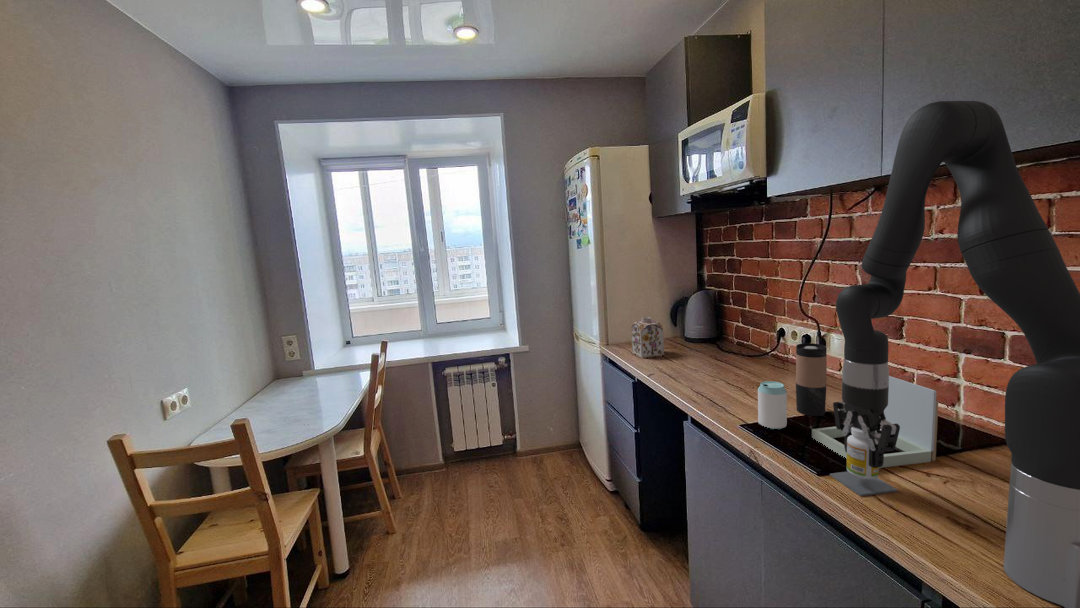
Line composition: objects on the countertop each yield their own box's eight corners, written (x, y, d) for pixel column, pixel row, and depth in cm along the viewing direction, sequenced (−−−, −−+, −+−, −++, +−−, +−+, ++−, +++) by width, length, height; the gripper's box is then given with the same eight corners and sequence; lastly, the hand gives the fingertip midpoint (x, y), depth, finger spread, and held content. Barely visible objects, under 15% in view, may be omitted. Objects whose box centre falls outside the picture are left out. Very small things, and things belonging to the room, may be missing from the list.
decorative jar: (631, 353, 208) (630, 317, 205) (653, 350, 210) (652, 314, 207) (641, 358, 196) (640, 320, 194) (665, 355, 198) (663, 318, 196)
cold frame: (936, 461, 94) (939, 390, 92) (864, 469, 93) (865, 398, 91) (874, 431, 110) (876, 370, 108) (811, 438, 109) (812, 376, 107)
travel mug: (828, 409, 125) (828, 344, 123) (823, 418, 120) (824, 350, 117) (798, 405, 131) (798, 342, 128) (793, 413, 125) (793, 347, 122)
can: (775, 432, 113) (775, 390, 112) (752, 424, 120) (752, 383, 118) (792, 426, 116) (792, 384, 115) (769, 418, 123) (768, 378, 121)
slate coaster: (897, 491, 85) (897, 489, 85) (860, 496, 84) (860, 494, 84) (863, 471, 93) (863, 469, 93) (829, 475, 92) (829, 473, 92)
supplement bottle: (871, 467, 90) (872, 423, 89) (884, 480, 85) (885, 435, 84) (841, 465, 91) (842, 422, 90) (852, 478, 86) (854, 433, 85)
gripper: (916, 391, 79) (912, 475, 81) (853, 369, 93) (851, 442, 95) (878, 395, 78) (876, 479, 80) (821, 373, 92) (820, 445, 95)
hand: (862, 459), depth 88 cm, fingers closed on supplement bottle, 5 cm apart
